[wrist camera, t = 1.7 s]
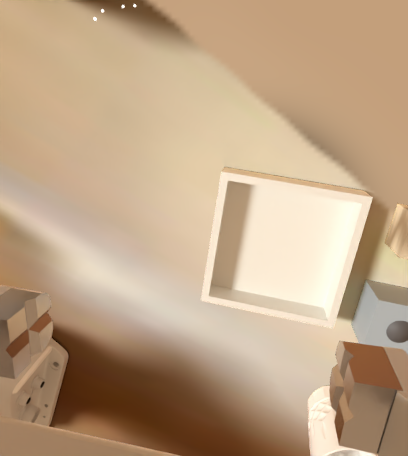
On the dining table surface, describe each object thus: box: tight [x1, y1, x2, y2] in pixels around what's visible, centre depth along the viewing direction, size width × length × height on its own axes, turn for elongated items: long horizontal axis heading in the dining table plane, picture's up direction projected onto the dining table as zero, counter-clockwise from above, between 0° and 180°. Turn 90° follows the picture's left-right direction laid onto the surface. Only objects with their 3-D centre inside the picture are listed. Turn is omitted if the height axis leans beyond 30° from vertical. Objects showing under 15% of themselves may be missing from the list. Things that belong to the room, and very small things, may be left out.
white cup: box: [308, 385, 378, 456], centre depth 42 cm, size 8×8×10 cm
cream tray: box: [201, 167, 373, 329], centre depth 40 cm, size 15×15×4 cm
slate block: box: [351, 280, 408, 355], centre depth 39 cm, size 6×6×5 cm
